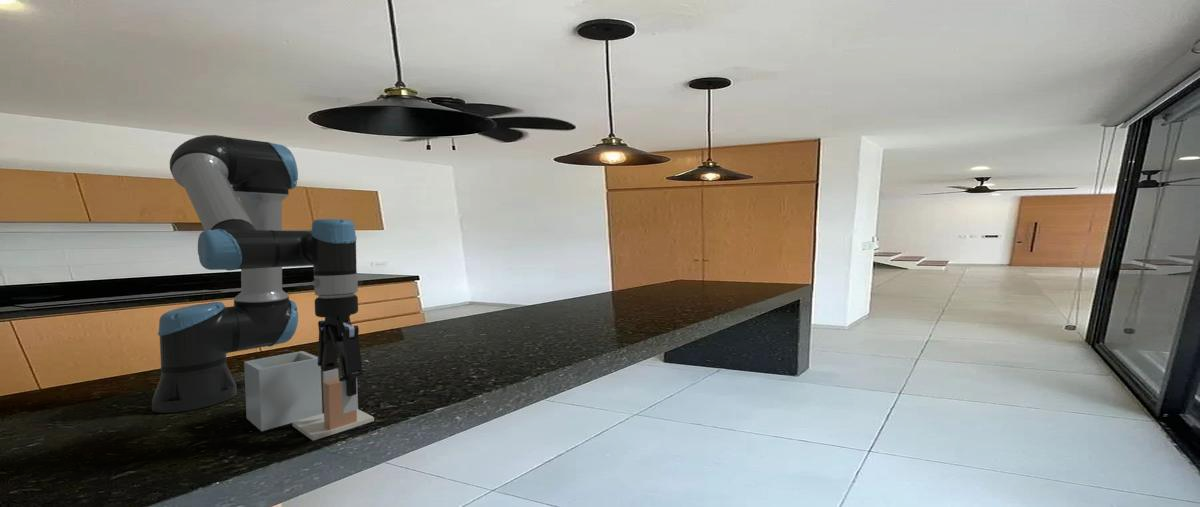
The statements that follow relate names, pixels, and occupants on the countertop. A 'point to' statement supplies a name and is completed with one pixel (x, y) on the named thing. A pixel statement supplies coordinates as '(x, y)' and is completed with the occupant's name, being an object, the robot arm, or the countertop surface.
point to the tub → (282, 389)
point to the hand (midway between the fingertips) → (340, 405)
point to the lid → (331, 415)
